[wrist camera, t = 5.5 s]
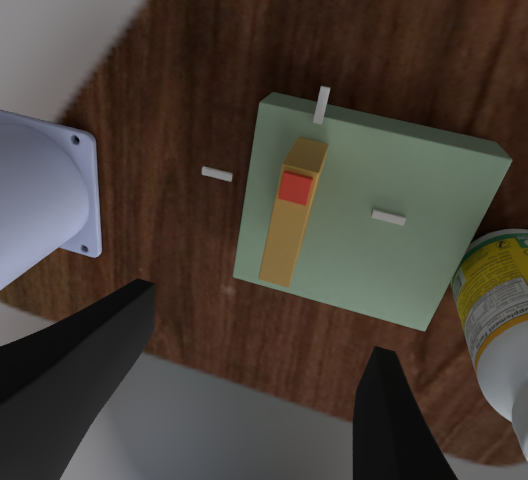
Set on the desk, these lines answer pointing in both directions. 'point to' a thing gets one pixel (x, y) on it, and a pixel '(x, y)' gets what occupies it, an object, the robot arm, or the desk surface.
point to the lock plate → (370, 206)
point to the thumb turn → (292, 210)
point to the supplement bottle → (498, 321)
